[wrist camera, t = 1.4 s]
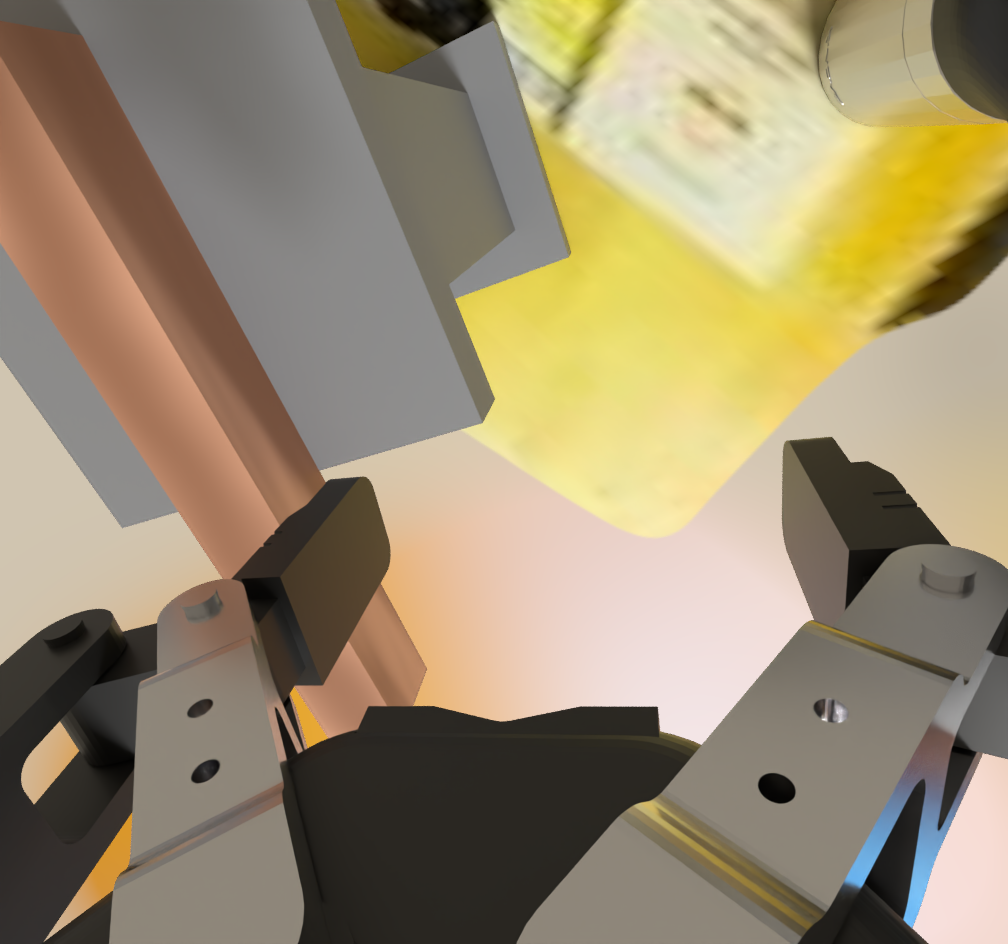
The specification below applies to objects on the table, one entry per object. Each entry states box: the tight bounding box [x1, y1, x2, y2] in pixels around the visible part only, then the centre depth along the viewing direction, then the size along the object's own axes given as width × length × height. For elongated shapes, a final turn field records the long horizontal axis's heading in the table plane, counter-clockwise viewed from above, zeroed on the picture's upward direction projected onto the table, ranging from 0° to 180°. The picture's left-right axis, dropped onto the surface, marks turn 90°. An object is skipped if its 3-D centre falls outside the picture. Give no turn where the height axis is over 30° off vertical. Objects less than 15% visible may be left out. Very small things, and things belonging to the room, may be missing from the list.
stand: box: [0, 0, 571, 528], centre depth 33 cm, size 15×15×32 cm
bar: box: [0, 21, 427, 738], centre depth 20 cm, size 3×22×3 cm, turn 21°
